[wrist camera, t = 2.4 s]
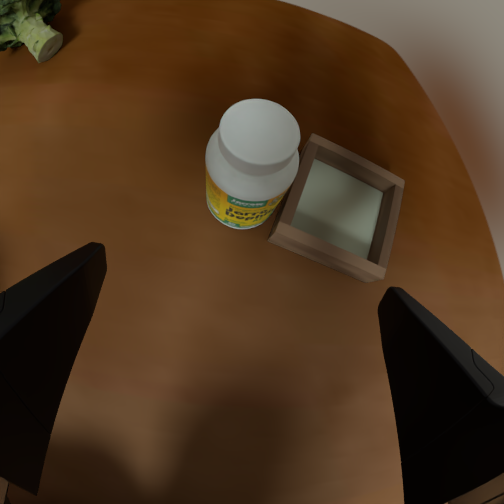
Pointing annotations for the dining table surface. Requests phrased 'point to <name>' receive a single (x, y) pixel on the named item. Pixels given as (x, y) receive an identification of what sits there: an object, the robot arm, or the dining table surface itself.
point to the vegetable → (30, 26)
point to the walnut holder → (340, 211)
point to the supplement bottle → (251, 162)
